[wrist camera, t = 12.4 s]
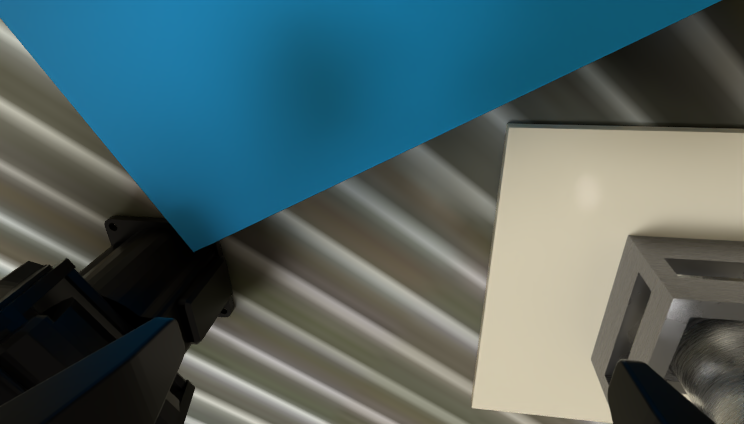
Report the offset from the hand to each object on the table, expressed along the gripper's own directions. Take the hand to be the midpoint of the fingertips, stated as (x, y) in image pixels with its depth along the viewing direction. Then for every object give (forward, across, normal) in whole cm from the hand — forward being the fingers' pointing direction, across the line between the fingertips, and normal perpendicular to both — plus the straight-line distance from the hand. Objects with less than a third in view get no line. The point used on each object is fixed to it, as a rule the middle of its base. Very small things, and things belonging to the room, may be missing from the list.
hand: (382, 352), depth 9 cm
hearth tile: (+13, -14, +8) cm, 21 cm away
